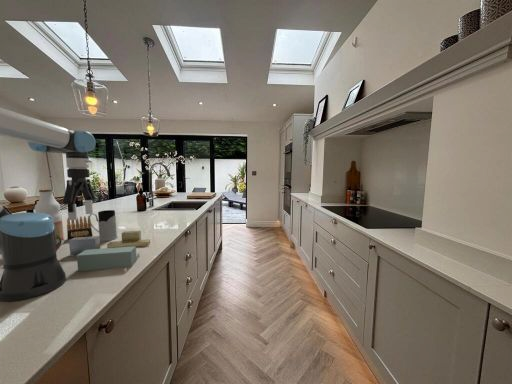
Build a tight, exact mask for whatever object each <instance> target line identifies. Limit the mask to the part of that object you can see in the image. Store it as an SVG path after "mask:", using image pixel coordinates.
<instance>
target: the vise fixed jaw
mask: <svg viewBox="0 0 512 384" xmlns="http://www.w3.org/2000/svg"><path fill="white" fill-rule="evenodd" d="M140 257H141V255H140V252H139V251H138V252H137V247H136V246H133V247H119V248H100V249H90V250H85V251H83V252H82V253H80V254H78V255H76V261H77V262H76V263H77V271H78V272H85V271H97V270H110V269H121V268H132V267H133V266H134V265H135V263H136V262H137V261H138V260H139V258H140Z"/></svg>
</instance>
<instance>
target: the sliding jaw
mask: <svg viewBox="0 0 512 384" xmlns="http://www.w3.org/2000/svg"><path fill="white" fill-rule="evenodd" d="M150 244H151V239H147V238H146V239H142V231H141V230H129V231H122V232H121V240H118V241H115V240H114V241H109V242H108V243H107V244H106V247H107V248H119V247H133V246H136V248H138V247H148V246H149V245H150Z"/></svg>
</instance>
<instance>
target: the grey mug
mask: <svg viewBox="0 0 512 384" xmlns="http://www.w3.org/2000/svg"><path fill="white" fill-rule="evenodd" d="M92 215H93V216H95V219H96V222H97V223H98V229H97V228H95V226H94V225H93V223H92V221H91V220H92V219H91V216H92ZM88 216H89V222H90V224H91V227H92V229H94V230H95V231H96V232H98V236H100V242H110V241H113V240H114V241H115V240H116V238H117V239H118V238H119V236H118V233H117V231H118V230H117V220H116V219H117V218H116V217H117V216H116V210H114V209H110V210H109V209H108V210H99V211H98V213H97V214H96V213H93V214H88ZM109 240H110V241H109Z"/></svg>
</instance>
